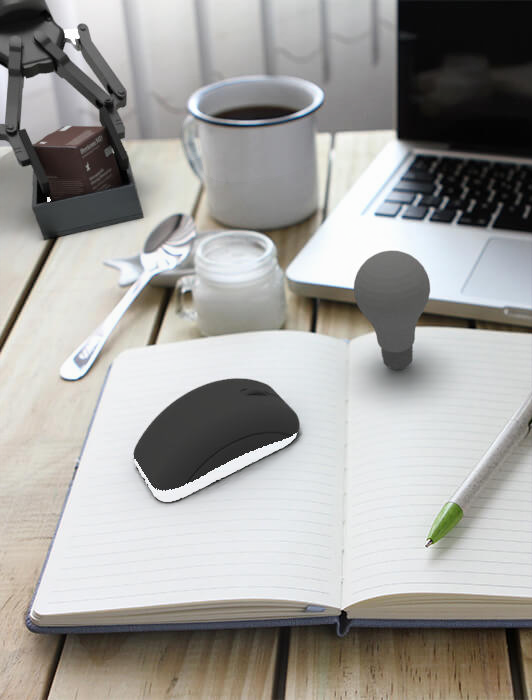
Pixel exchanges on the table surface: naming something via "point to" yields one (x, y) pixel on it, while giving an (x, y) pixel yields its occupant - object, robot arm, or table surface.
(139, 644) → the table surface
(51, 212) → the dark grey open tray
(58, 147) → the box
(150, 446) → the computer mouse
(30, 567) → the table surface
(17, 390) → the table surface
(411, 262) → the light bulb
